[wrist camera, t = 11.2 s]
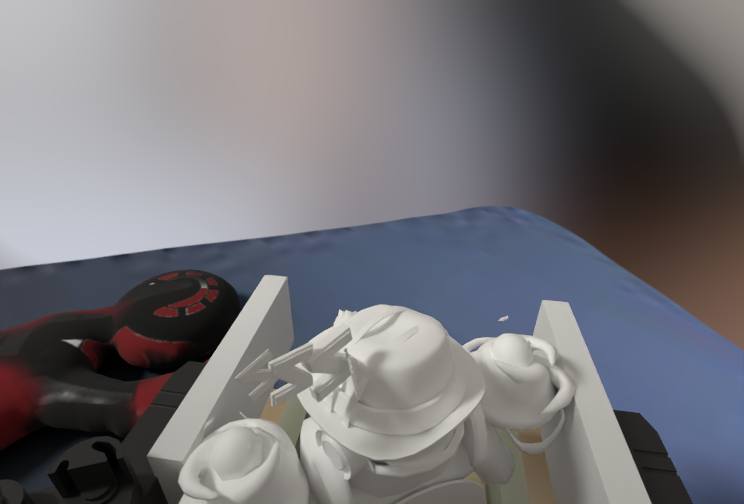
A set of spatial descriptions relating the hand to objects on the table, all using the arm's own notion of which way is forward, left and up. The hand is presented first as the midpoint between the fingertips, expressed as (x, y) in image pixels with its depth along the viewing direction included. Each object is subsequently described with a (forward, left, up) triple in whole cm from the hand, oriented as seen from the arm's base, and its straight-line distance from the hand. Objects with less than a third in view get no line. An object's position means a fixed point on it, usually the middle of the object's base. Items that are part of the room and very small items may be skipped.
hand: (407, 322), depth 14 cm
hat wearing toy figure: (0, -5, -7) cm, 9 cm away
